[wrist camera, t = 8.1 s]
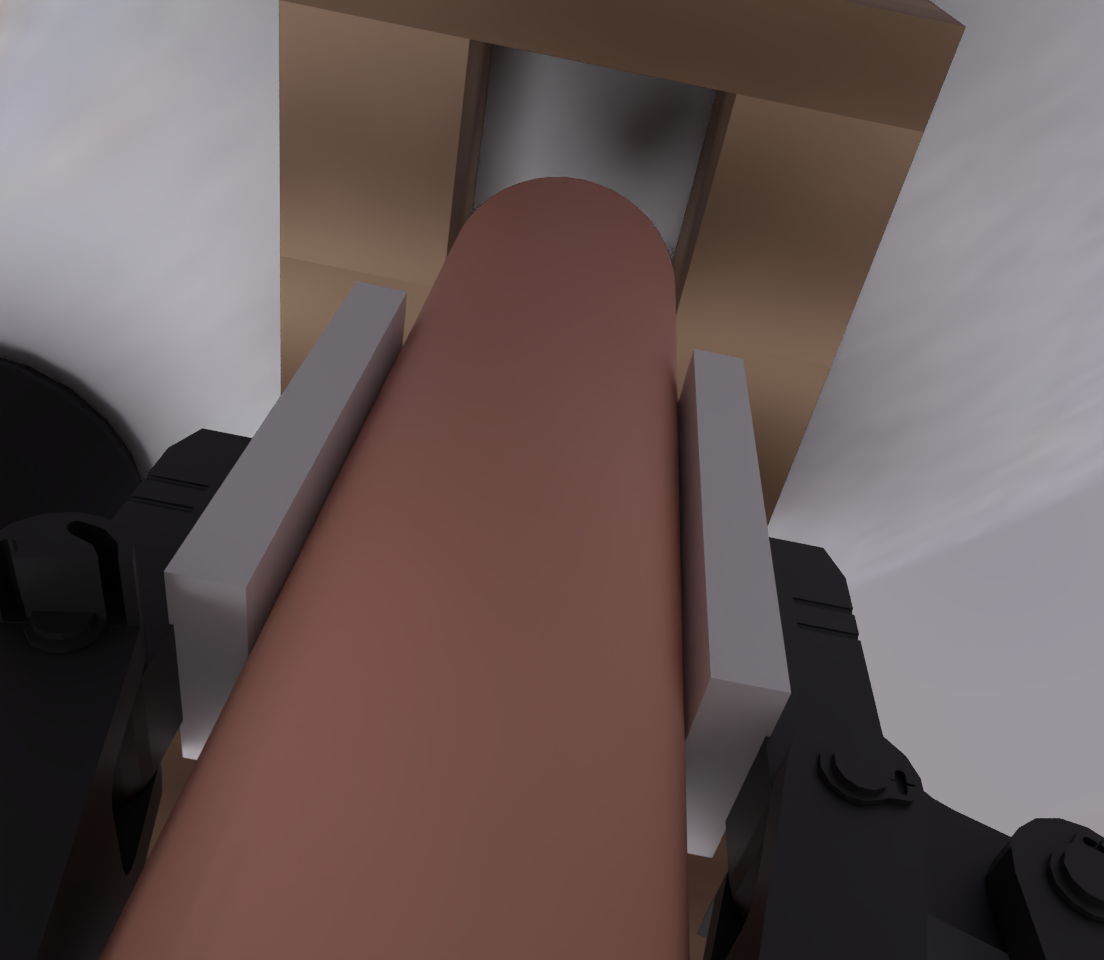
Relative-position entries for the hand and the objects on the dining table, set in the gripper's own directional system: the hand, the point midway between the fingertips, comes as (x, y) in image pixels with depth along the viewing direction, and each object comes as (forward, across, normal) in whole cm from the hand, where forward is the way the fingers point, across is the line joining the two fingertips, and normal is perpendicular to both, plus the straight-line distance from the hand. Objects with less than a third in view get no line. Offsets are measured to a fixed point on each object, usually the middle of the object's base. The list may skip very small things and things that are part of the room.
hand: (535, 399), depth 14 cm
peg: (+4, 0, 0) cm, 4 cm away
